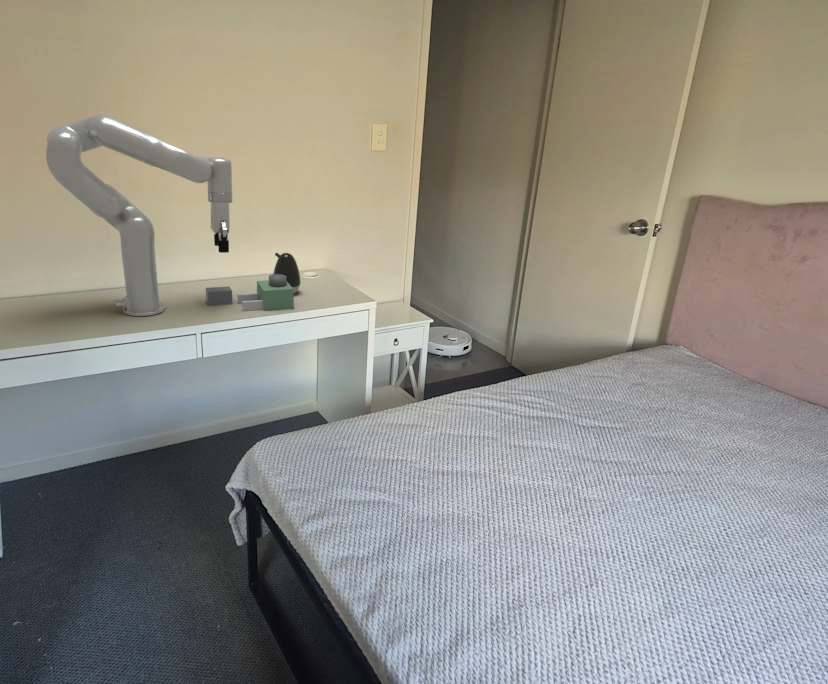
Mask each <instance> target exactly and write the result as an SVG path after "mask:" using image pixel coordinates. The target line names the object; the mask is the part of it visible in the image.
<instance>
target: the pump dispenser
mask: <svg viewBox="0 0 828 684" xmlns="http://www.w3.org/2000/svg"><path fill="white" fill-rule="evenodd" d="M274 256H276V257H277V260H276V262H275V266H274V269H273V274H282V275H286V277H287V282H288V283H289V284H290V286H291V287H292V288H293V289H294V294H296V293H297V292H298V290H299V288H300V286H301V274H300V270H299V266H298V264H297V262H296V261H297V260H296V258H295V257H294V256H293V254H291V253H289V252H284V253H282V254H280V253H278V252H275V254H274Z"/></svg>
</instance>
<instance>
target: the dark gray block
mask: <svg viewBox="0 0 828 684" xmlns="http://www.w3.org/2000/svg"><path fill="white" fill-rule="evenodd" d="M205 302H206V303H207V305H208V307H210V306H223V305H224V306H225V305H233V303H234V302H233V290H232V288H231V287H230V286H218V287H217V286H216V287H215V286H214V287H205Z"/></svg>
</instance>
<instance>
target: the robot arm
mask: <svg viewBox="0 0 828 684" xmlns="http://www.w3.org/2000/svg"><path fill="white" fill-rule="evenodd" d="M46 144H47V145H46V150H45V151H46V155H45V158H46V160H45V161H46V163H47V167H48V170H49V171H50V173H51V174H52V176H53V177H54V179H55V180H56V181H57V183H59V185H61V186H62V187H63V188H64V189H66V190H67V191H68V192H69V193H70V194H71V195H73V197H75V199H77V200H79V202H81V203H82V204H83V205H85V207H87V208H88V209H89V210H90V211H91V212H92V213H93V214H94V215H96V216H97V217H98V218H101V219H103V220H104V221H106V222H107V223H108V224H109V225H111V227H113V229H115V230H117V231H118V233H119V237H120V251H121V257H122V258H121V261H122V267H123V276H124V284H125V297H122V299H111V300H110V301H111V306H112V307H113V306H115V307H116V308H121V307H122V312H123V314H125V315H128V316H133V317H149V316H150V317H151V316H154V315H159V314H161V313H163V312H164V311H165V309H166V305H165V304H164V303H162V302H160V294H159V283H158V282H159V281H158V273H157V271H158V270H157V263H156V253H155V252H156V251H155V250H156V249H155V247H156V246H155V229H154V226H153V223H152V221H151V220H150V218H148V216H147V215H146V214H145V213H144V212H143V211H141V210H140V209H139V208H138V207H137V206H136V205H134V203H132V202H131V201H129V199H127V198H126V197H125V196H124V194H122V193H120V191H118V189H116V188H115V187H113V186H112V185H110V184H108V183H105V182H103V180H101V179H100V178H99V177H98V176H97V175H96V174H95V173H94V172H93V171H91V170H90V169H89V168H88V167H87V166H86V165H85V164H84V163H83V161H82V159H81V157H82V156H81V155H82V153H85V152H88V151H91V150H94V149H97V148H100V147H105V148H107V149H109V150H112V151H114V152H117V153H120V154H122V155H125V156H127V157H129V158H132V159H134V160H136V161H139V162H141V163H144V164H146V165H149V166H151V167H155V168H158V169H161V170H163V171H166V172H168V173H171V174H173V175H176V176H178V177H180V178H182V179H186V180H188V181H191V182H192V183H194V184H204V183H206V182H207V183H206V184H207V201H208V203H210V229H211V231H212V232H213V238H214V239H213V240H214V246H215V247H218V252H219V253H221V254H222V253H224V254H225V253H229V252H230V248H229V247H230V244H229V241H230V240H229V235H228V234H229V233H230V205H229V204H231V203H233V177H232V176H233V175H232V174H233V173H232V169H233V168H232V161H231V159H229V158H226V157H220V156H216V157H206V156H199V155H194V154H191V153H189V152H187V151H185V150H182V149H180V148H179V147H176V146H173V145H171V144H170V143H167V142H166V141H164V140H163V139H160V138H159V137H156V135H155V136H154V135H152V134H150V133H147V132H145V131H144V130H141V129H139V128H136V127H135V126H132V125H130V124H127V123H125V122H123V121H121V120H118V119H116V118H113V117H110V116H109V115H106V114H95V115H92V116H89V117H86V118H83V119H79V120H77V121H73V122H70V123H65V124H63V125H60V126H56V127H54V128H52V129H51V130H50V131H48V134H47V136H46Z"/></svg>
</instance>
